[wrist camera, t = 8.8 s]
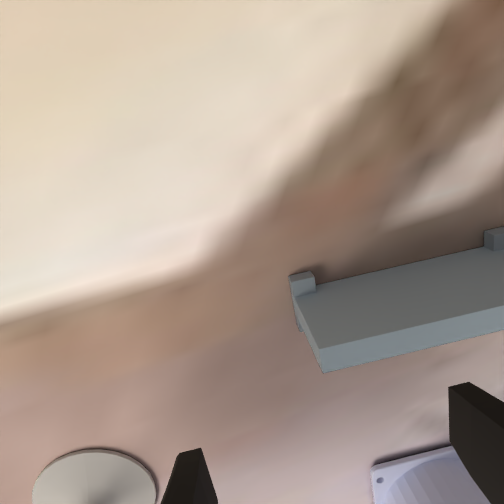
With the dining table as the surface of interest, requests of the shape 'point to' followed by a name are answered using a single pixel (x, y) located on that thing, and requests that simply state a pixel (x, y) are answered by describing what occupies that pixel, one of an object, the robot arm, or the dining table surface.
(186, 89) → the dining table surface
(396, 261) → the dining table surface
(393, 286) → the grey block with tabs
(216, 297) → the dining table surface
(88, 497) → the wineglass
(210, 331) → the dining table surface
